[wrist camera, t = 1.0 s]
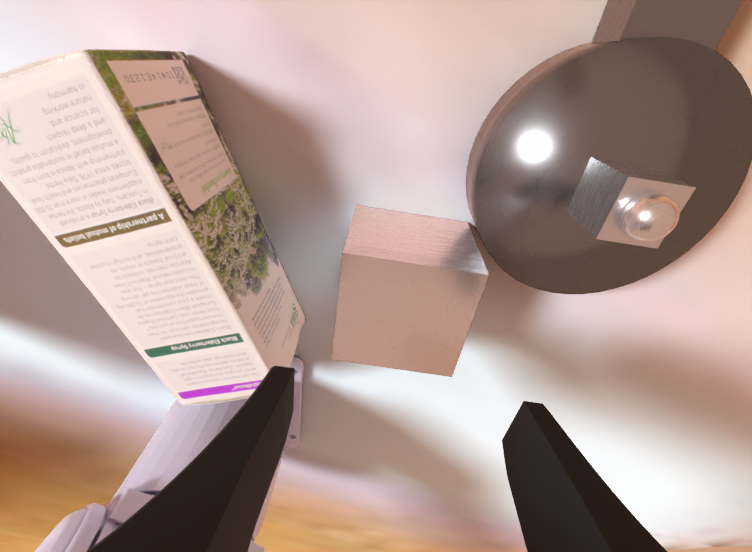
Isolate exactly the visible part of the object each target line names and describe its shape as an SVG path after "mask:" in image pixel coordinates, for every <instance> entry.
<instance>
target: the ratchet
mask: <svg viewBox="0 0 752 552" xmlns="http://www.w3.org/2000/svg"><path fill="white" fill-rule="evenodd" d="M741 2H742V0H608V3H607V5H606V8H605V10H604V13H603V16H602V18H601V21H600V23H599V26H598V28H597V31H596V34H595V36H594V39H593V41H592V43H587V44H583V45H580V46H577V47H574V48H571V49H568V50H565V51H563V52H561V53H559V54H557V55H555V56H553V57H551V58H549V59H547V60H545V61H544V62H542V63H541V64H539V65H538V66H536V67H535V68H533V69H531V70H530V71H529V72H528V73H526V74H525V75H524V76H523V77H522V78H520V79H519V80H518V81H517V82H516V83H515V84H514V85H513V86H512V87H511V88H510V89H509V90H508V91H507V92H506V93H505V94H504V95H503V96H502V97H501V98H500V100H499V101H498V102H497V103H496V105H495V106H494V107H493V108H492V110H491V111H490V113H489V115H488V116H487V118H486V119H485V121H484V123H483V124H482V126H481V128H480V130H479V132H478V134H477V137H476V139H475V141H474V144H473V147H472V150H471V153H470V157H469V162H468V166H467V175H466V194H467V201H468V206H469V210H470V213H471V215H472V218H473V221H474V223H475V225H476V227H477V230H478V232H479V234H480V236H481V239H482V241H483V243H484V245H485V247H486V249H487V250H488V252H489V254H490V255H491V257H492V258H493V259H494V260H495V262H496V263H497V264H498V265H499V266H500V267H501V268H502V269H503V270H504V271H505V272H506V273H508V274H509V275H510V276H512V277H513V278H515V279H516V280H518V281H520V282H522V283H524V284H526V285H528V286H531V287H534V288H537V289H539V290H543V291H548V292H553V293H562V294H586V293H595V292H601V291H606V290H610V289H614V288H618V287H621V286H624V285H628V284H630V283H633V282H635V281H638V280H640V279H643V278H645V277H647V276H649V275H651V274H653V273H655V272H657V271H659V270H660V269H662V268H664V267H665V266H667V265H669V264H670V263H672V262H673V261H675V260H676V259H678V258H679V257H680V256H682V255H683V254H684V253H686V252H687V251H688V250H690V249H691V248H692V247H693V246H694V245H695V244H696V243H698V242H699V241H700V240H701V239H702V238H703V237H704V236H705V235H706V234H707V233H708V232H709V231H710V230H711V229H712V228H713V227H714V226H715V225H716V223H717V222H718V221H719V220H720V218H721V217H722V216H723V214H724V213H725V212H726V211H727V209H728V208H729V206H730V205H731V203H732V201H733V200H734V198H735V197H736V195H737V194H738V192H739V190H740V188H741V185H742V183H743V181H744V179H745V177H746V175H747V172H748V169H749V166H750V163H751V160H752V96H751V92H750V89H749V88H748V86H747V84H746V82H745V80H744V79H743V77H742V75H741V74H740V73H739V71H738V70H737V69H736V68H735V67H734V66H733V64H732V63H731V62H730V61H728V60H727V59H726V58H724V57H723V56H722V55H720V54H719V53H718V52H717V51H715V50H716V48H717V46H718V44H719V42H720V40H721V39H722V37H723V35H724V33H725V31H726V29H727V28H728V26H729V24H730V22H731V20H732V19H733V17H734V15H735V13H736V11H737V9H738V8H739V6H740V4H741Z"/></svg>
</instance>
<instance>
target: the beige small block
mask: <svg viewBox="0 0 752 552" xmlns="http://www.w3.org/2000/svg"><path fill="white" fill-rule="evenodd" d="M488 277H489V273H488V271H487V268H486V266H485V263H484V261H483V258H482V256H481V254H480V251H479V249H478V246H477V244H476V241H475V239H474V236H473V234H472V232H471V229H470V227H469V224H468V222H462V221H456V220H449V219H443V218H436V217H430V216H423V215H417V214H411V213H404V212H398V211H391V210H385V209H379V208H372V207H366V206H359V205H356V208H355V211H354V215H353V218H352V222H351V225H350V229H349V232H348V236H347V239H346V242H345V246H344V249H343V253H342V263H341V272H340V282H339V291H338V301H337V311H336V320H335V330H334V340H333V349H332V359H331V360H338V361H345V362H352V363H359V364H366V365H373V366H380V367H387V368H394V369H401V370H408V371H415V372H422V373H429V374H436V375H443V376H449V377H452V375H453V372H454V370H455V367H456V364H457V361H458V359H459V356H460V353H461V350H462V348H463V345H464V342H465V340H466V337H467V334H468V331H469V329H470V326H471V323H472V320H473V318H474V315H475V312H476V310H477V307H478V304H479V301H480V299H481V296H482V293H483V291H484V288H485V285H486V282H487V280H488Z"/></svg>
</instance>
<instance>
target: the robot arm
mask: <svg viewBox="0 0 752 552" xmlns="http://www.w3.org/2000/svg"><path fill="white" fill-rule="evenodd" d="M295 370H296V371H295ZM302 383H303V362H302V360H300V359H298V358H294V357H293V360H292V363H291V365H290V368H289V367H282V366H273V367H271V369H270V370H269V372H268V373H267V375H266V376H265V377H264V379H263V380H262V382H261V383H260V384H259V386H258V387H257V388H256V390H255V391H254V392H253V393H252V395H251V396H250V397H249V398H245V399H240V400H234V401H227V402H221V403H213V404H199V405H182V404H181V403H180V402H179V401H178V400H176V401H175V403H174V404H173V406H172V407H171V409H170V410H169V412H168V414H167V415H166V417H165V418H164V420H163V421H162V423H161V424H160V426H159V427H158V429H157V430H156V432H155V434H154V435H153V437H152V438H151V440H150V441H149V443H148V444H147V446H146V447H145V449H144V450H143V452H142V454H141V455H140V457H139V458H138V460H137V461H136V463H135V464H134V466H133V467H132V469H131V471H130V472H129V474H128V475H127V477H126V478H125V480H124V481H123V483H122V484H121V486H120V487H119V489H118V491H117V492H116V494H115V495H114V497H113V498H112V500H111V501H110V502H109V503H108V504H107V505H105V506H102V505H100V504H97V503H91V504H89V505H87V506H86V507H85V508H82V509H80V510H77V511H75V512H72V513H70V514H68V515H67V516H66V517H65V518H64V519H63V520H62V521H61V522H60V523H59V524H58V525H57V526H56V527H55V528H54V529H53V530H52V531H51V533H50V534H49V535H48V536H47V537H46V538H45V540H44V541H43V542H42V543H41V544H40V546H39V547H38V548H37V549H36V550H35V552H264V551H265V549H264V548H263V547H261V546H259V545H258V544H256V543H255V542H254V540H255V538H256V536H257V534H258V533H259V531H260V529H261V526H262V523H263V520H264V517H265V514H266V510H267V507H268V503H269V500H270V496H271V493H272V490H273V486H274V483H275V479H276V476H277V473H278V469H279V466H280V462H281V459H282V456H283V452H284V449H285V447H287V448H297V447H298V446H299V443H300V426H301V404H302ZM502 442H503V450H504V458H505V464H506V470H507V476H508V480H509V484H510V488H511V492H512V495H513V499H514V503H515V507H516V510H517V514H518V518H519V522H520V525H521V529H522V533H523V536H524V540H525V544H526V548H527V551H528V552H667V551H666V550H665V549H664V548H663V547H662V546H661V545H660V544H659V543H658V542H657V541H656V540H655V539H654V538H653V536H652V535H651V534H650V533H649V532H648V531H647V530H646V529H645V528H644V527H643V526H642V525H641V524H640V523H639V521H638V520H637V519H636V518H635V517H634V516H633V515H632V514H631V512H630V511H629V510H628V509H627V508H626V507H625V506H624V504H623V503H622V502H621V501H620V500H619V499H618V498H617V496H616V495H615V494H614V493H613V492H612V491H611V489H610V488H609V487H608V486H607V485H606V483H605V482H604V481H603V480H602V479H601V477H600V476H599V475H598V474H597V472H596V471H595V470H594V469H593V467H592V466H591V465H590V464H589V462H588V461H587V460H586V459H585V457H584V456H583V455H582V454H581V452H580V451H579V450H578V448H577V447H576V446H575V445H574V443H573V442H572V441H571V439H570V438H569V437H568V436H567V434H566V433H565V432H564V430H563V429H562V428H561V426H560V425H559V424H558V423H557V421H556V420H555V419H554V417H553V416H552V415H551V413H550V412H549V411H548V410H547V408H546V407H545V406H544V405H543V404H540V403H533V402H526V401H524V402H523V403H522V405H521V407H520V409H519V411H518V413H517V414H516V416H515V418H514V420H513V422H512V423H511V425H510V427H509V429H508V431H507V432H506V434H505V436H504V438H503V440H502Z"/></svg>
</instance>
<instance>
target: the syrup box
mask: <svg viewBox="0 0 752 552" xmlns="http://www.w3.org/2000/svg"><path fill="white" fill-rule="evenodd" d="M0 181H1V182H2V183H3V185H4V186H5V187H6V188H7V189H8V191H9V192H10V193H11V194H12V195H13V197H14V198H15V199H16V200H17V202H18V203H19V204H20V205H21V206H22V208H23V209H24V210H25V211H26V213H27V214H28V215H29V216H30V218H31V219H32V220H33V221H34V223H35V224H36V225H37V226H38V227H39V229H40V230H41V231H42V232H43V233H44V235H45V236H46V237H47V238H48V240H49V241H50V242H51V244H52V245H53V246H54V247H55V248H56V250H57V251H58V252H59V253H60V255H61V256H62V257H63V258H64V259H65V261H66V262H67V263H68V264H69V266H70V267H71V268H72V269H73V271H74V272H75V273H76V274H77V276H78V277H79V278H80V279H81V281H82V282H83V283H84V284H85V286H86V287H87V288H88V289H89V290H90V292H91V293H92V294H93V295H94V297H95V298H96V299H97V301H98V302H99V303H100V304H101V305H102V307H103V308H104V309H105V310H106V312H107V313H108V314H109V315H110V317H111V318H112V319H113V321H114V322H115V323H116V324H117V326H118V327H119V328H120V329H121V331H122V332H123V333H124V334H125V336H126V337H127V338H128V339H129V341H130V342H131V343H132V344H133V346H134V347H135V348H136V350H137V351H138V352H139V353H140V355H141V356H142V357H143V358H144V360H145V361H146V362H147V363H148V365H149V366H150V367H151V368H152V370H153V371H154V372H155V373H156V375H157V376H158V377H159V378H160V380H161V381H162V382H163V383H164V384H165V386H166V387H167V388H168V389H169V390H170V392H171V393H172V394H173V395H174V396H175V398H176V399H177V400H178V401H179V402H180V403H181V404H182V405H199V404H213V403H221V402H227V401H234V400H240V399H245V398H249V397H250V396H251V395H252V393H253V392H254V391H255V390H256V388H257V387H258V386H259V384H260V383H261V382H262V380H263V379H264V377H265V376H266V375H267V373H268V372H269V370H270V369H271V367H273V366H282V367H289V368H290V365H291V363H292V360H293V357H294V354H295V351H296V348H297V344H298V340H299V336H300V332H301V328H302V326H303V325H304V322H305V320H306V319H305V316H304V314H303V312H302V310H301V307H300V305H299V303H298V301H297V299H296V296H295V294H294V292H293V290H292V287H291V285H290V283H289V281H288V279H287V276H286V274H285V272H284V270H283V268H282V265H281V263H280V261H279V259H278V257H277V254H276V252H275V250H274V248H273V246H272V243H271V241H270V239H269V237H268V235H267V233H266V231H265V228H264V226H263V224H262V222H261V220H260V218H259V215H258V213H257V211H256V209H255V206H254V204H253V202H252V200H251V197H250V195H249V193H248V191H247V189H246V187H245V185H244V183H243V180H242V178H241V176H240V173H239V171H238V169H237V167H236V164H235V162H234V160H233V158H232V156H231V154H230V151H229V149H228V147H227V145H226V143H225V141H224V138H223V136H222V133H221V131H220V130H219V128H218V125H217V123H216V121H215V118H214V117H213V115H212V113H211V111H210V108H209V106H208V104H207V101H206V99H205V97H204V95H203V92H202V90H201V88H200V86H199V84H198V82H197V79H196V77H195V75H194V73H193V71H192V69H191V66H190V64H189V62H188V60H187V58H186V55H185V53H184V52H176V51H153V50H102V49H88V50H78V51H73V52H69V53H64V54H60V55H56V56H53V57H49V58H45V59H41V60H37V61H34V62H31V63H28V64H25V65H22V66H19V67H16V68H13V69H10V70H7V71H4V72H1V73H0Z"/></svg>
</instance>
